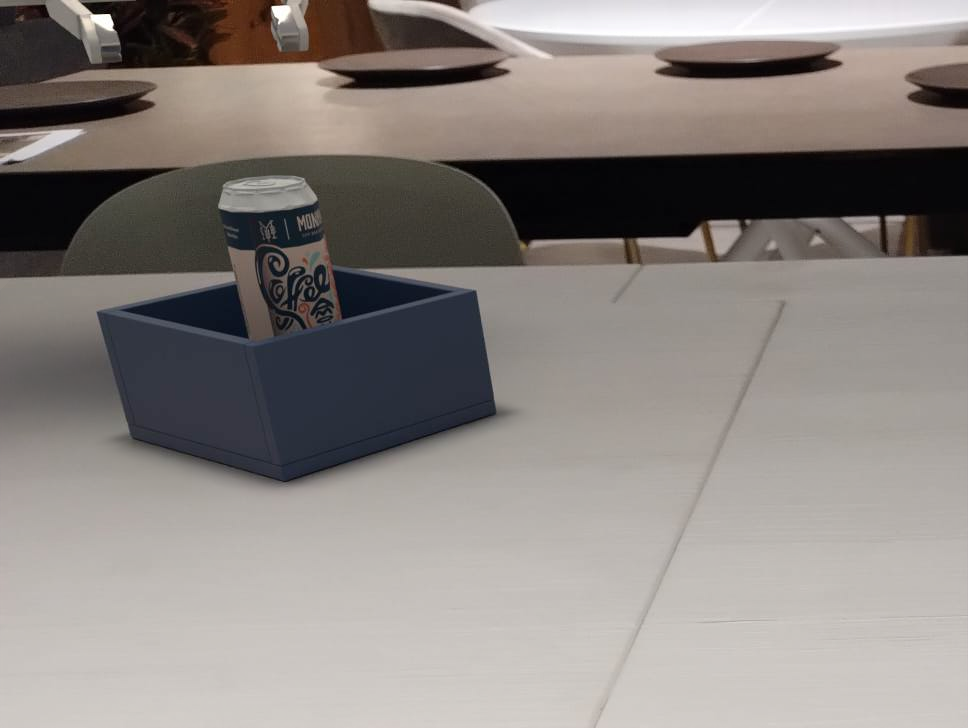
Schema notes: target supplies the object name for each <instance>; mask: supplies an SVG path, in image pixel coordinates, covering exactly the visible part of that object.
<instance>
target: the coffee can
mask: <svg viewBox="0 0 968 728" xmlns="http://www.w3.org/2000/svg"><path fill="white" fill-rule="evenodd" d="M217 204H218V211H219V216H220V219H221V220H220V221H221V224H222V228H223V232H224V233H223V234H224V236H225V241H226V245H227V250H228V253H229V257H230V263H231V266H232V271H233V276H234V279H235V280H234V281H236V284H237V288H238V293H239V297H240V301H241V305H242V310H243V314H244V318H245V323H246V327H247V331H248V335H249V339H251V340H255V341H260V340H264V339H268V338H272V337H276V336H280V335H283V334H287V333H291V332H295V331H299V330H303V329H307V328H311V327H315V326H319V325H323V324H327V323H331V322H335V321H339V320H342V316H341V311H340V306H339V301H338V297H337V292H336V287H335V282H334V277H333V272H332V267H331V265H332V263H331V258H330V254H329V248H328V244H327V239H326V234H325V230H324V225H323V224H324V223H323V219H322V216H321V215H322V214H321V210H320V204H319V199H318V197H317V195H316V194H315V192H314V191H313V190H312V188H311V187H310V185H309V184H308V183H307V182H306V179H305V178H304V177H299V176H295V175H265V176H264V175H262V176H253V177H252V176H251V177H244V178H240V179H234V180H229V181H227V182H226V183H224V184H223V185H222V191H221V194H220V199H219V202H218V203H217Z"/></svg>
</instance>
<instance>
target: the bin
mask: <svg viewBox="0 0 968 728" xmlns="http://www.w3.org/2000/svg"><path fill="white" fill-rule="evenodd" d="M331 267H332V272H333V277H334V282H335V287H336V292H337V297H338V301H339V306H340V311H341V316H342V320H339V321H335V322H331V323H327V324H323V325H319V326H315V327H311V328H307V329H303V330H299V331H295V332H291V333H287V334H283V335H280V336H276V337H272V338H268V339H264V340H260V341H255V340H251V339H249V335H248V331H247V327H246V323H245V318H244V314H243V310H242V305H241V301H240V297H239V293H238V288H237V284H236V280H233V281H229V282H224V283H219V284H214V285H209V286H204V287H201V288H196V289H191V290H187V291H182V292H177V293H173V294H170V295H163V296H159V297H155V298H150V299H146V300H142V301H137V302H132V303H127V304H123V305H119V306H113V307H109V308H105V309H100V310H97V311H96V316H97V319H98V323H99V326H100V330H101V333H102V334H101V335H102V337H103V341H104V344H105V348H106V351H107V355H108V359H109V362H110V367H111V370H112V374H113V377H114V382H115V384H116V389H117V391H118V395H119V399H120V402H121V406H122V409H123V413H124V416H125V420H126V423H127V426H128V427H127V428H128V430H129V434H130V438H133V439H136V440H139V441H144V442H147V443H150V444H154V445H157V446H160V447H165V448H167V449H171V450H175V451H178V452H181V453H185V454H188V455H193V456H196V457H199V458H202V459H206V460H209V461H213V462H217V463H220V464H224V465H227V466H231V467H234V468H238V469H241V470H245V471H249V472H251V473H255V474H259V475H263V476H266V477H269V478H273V479H275V480H279V481H283V482H286V481H290V480H293V479H296V478H299V477H302V476H305V475H308V474H311V473H315V472H317V471H321V470H324V469H327V468H330V467H333V466H336V465H340V464H343V463H346V462H348V461H349V462H350V461H351V460H354V459H355V460H356V459H358V458H361V457H364V456H368V455H370V454H374V453H377V452H380V451H383V450H386V449H389V448H392V447H395V446H399V445H401V444H404V443H407V442H410V441H413V440H417V439H420V438H423V437H426V436H429V435H433V434H435V433H438V432H439V433H440V432H442V431H444V430H445V431H446V430H447V429H451V428H454V427H457V426H460V425H463V424H466V423H470V422H473V421H475V420H476V421H477V420H478V419H481V418H485V417H488V416H491V415H494V414H497V408H496V401H495V394H494V393H495V392H494V387H493V382H492V376H491V369H490V364H489V358H488V351H487V347H486V341H485V334H484V328H483V322H482V321H483V320H482V315H481V310H480V304H479V298H478V293H477V292H478V291H477V290H476V289H471V288H465V287H458V286H452V285H447V284H441V283H438V282H437V283H436V282H431V281H426V280H424V281H423V280H419V279H415V278H414V279H413V278H408V277H402V276H397V275H393V274H386V273H381V272H374V271H369V270H363V269H358V268H354V267H353V268H352V267H346V266H340V265H335V264H331Z"/></svg>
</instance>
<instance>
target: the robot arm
mask: <svg viewBox="0 0 968 728" xmlns="http://www.w3.org/2000/svg"><path fill="white" fill-rule="evenodd" d="M131 1H135V0H0V8H1V7H18V6H41V5H45V8H46V10H47V13H48V15H49V18H51V19H52V20H54V21H55V22H56V23H57V24H59V25H60V26H61V27H62V28H64V29H65V30H66V31H68V32H69V33H70V34H71V35H72V36H74V37H76V38H77V39H78V40H79V41H82V43H83V46H84V49H85V51H86V54H87V56H88V59H89V60H88V61H89V62H90V64H91V65H98V64H110V63H120V62H123V57H122V54H121V52H122V47H121V41H120V38H119V35H118V32H117V30H115V24H114V21H113V18H112V16H111V14H110V13H109V14H108V13H107V14H93V12H91V11H90V10H89V9H88V8H87V7H86V6H85V5H83V3H85V4H86V3H89V4H90V3H108V2H109V3H111V2H131ZM280 2H281V4H282V5H273V6H271V7H270V16H271V19H272V20H271V21H270V31H271V34H272V36H273V39H274V40H275V41H276V42H277V43H276V46H277V49H278V51H279V52H280V53H292V52H293V53H294V52H307V51H309V45H310V44H309V43H310V34H309V29H308V25H307V23H306V20H305V15H306V12H307V10H308V6H309V0H280Z"/></svg>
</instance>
